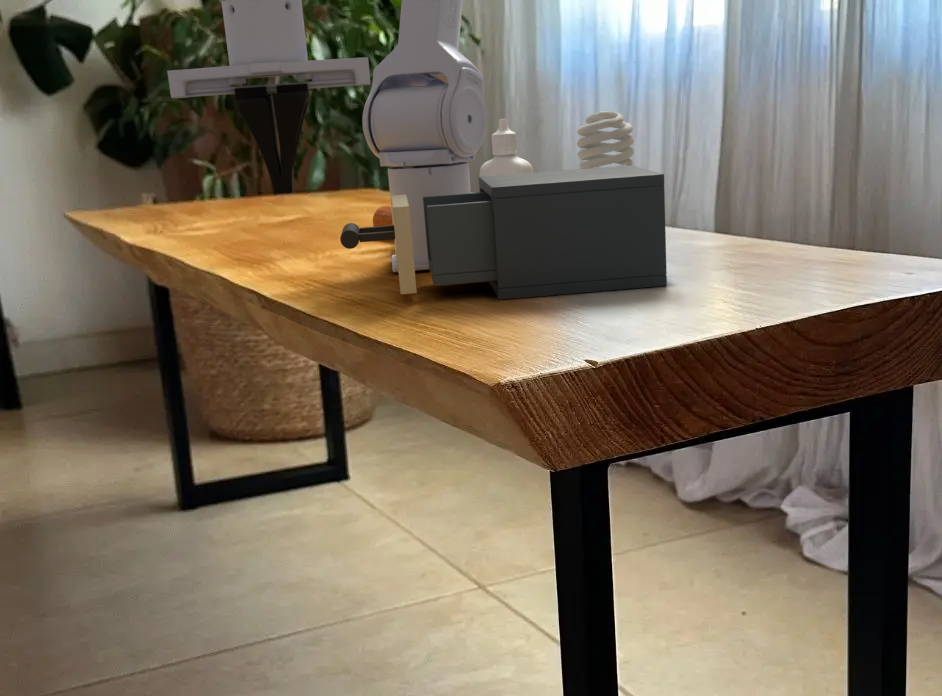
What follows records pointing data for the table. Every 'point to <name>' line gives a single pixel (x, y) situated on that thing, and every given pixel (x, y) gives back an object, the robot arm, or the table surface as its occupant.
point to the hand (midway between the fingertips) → (284, 192)
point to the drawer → (439, 239)
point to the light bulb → (596, 136)
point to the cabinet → (577, 231)
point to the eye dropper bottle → (505, 154)
